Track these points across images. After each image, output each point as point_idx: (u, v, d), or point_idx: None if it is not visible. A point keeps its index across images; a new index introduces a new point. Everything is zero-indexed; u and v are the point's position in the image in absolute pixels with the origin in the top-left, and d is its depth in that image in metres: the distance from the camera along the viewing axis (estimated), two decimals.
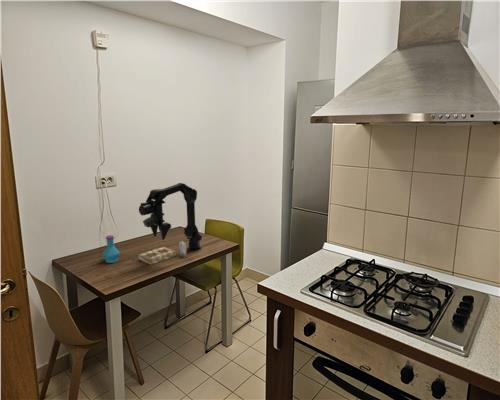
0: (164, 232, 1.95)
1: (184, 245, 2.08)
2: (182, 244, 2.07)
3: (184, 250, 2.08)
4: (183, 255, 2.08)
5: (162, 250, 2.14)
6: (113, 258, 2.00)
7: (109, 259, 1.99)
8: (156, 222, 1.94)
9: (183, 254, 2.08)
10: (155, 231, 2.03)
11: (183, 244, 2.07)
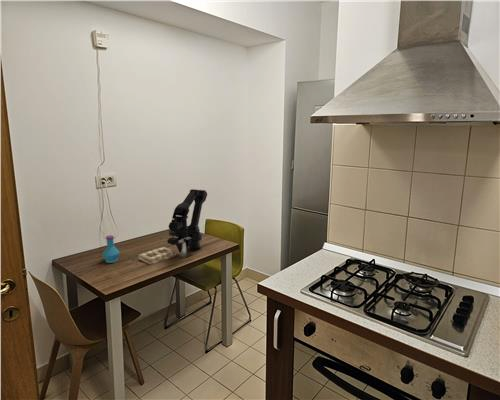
0: (178, 246, 2.06)
1: (184, 245, 2.08)
2: (182, 244, 2.07)
3: (184, 250, 2.08)
4: (183, 255, 2.08)
5: (162, 250, 2.14)
6: (113, 258, 2.00)
7: (109, 259, 1.99)
8: (175, 235, 2.07)
9: (183, 254, 2.08)
10: (186, 246, 2.11)
11: (183, 244, 2.07)
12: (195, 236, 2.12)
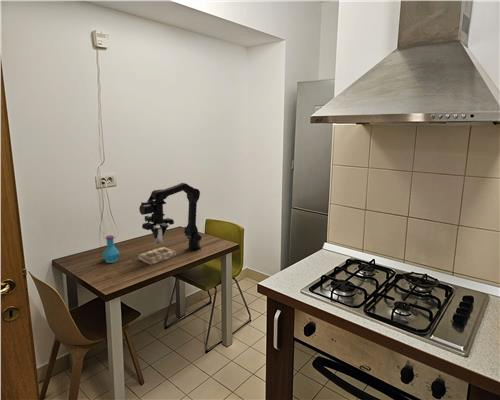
0: (154, 231, 2.00)
1: (160, 231, 2.01)
2: (158, 230, 2.00)
3: (160, 236, 2.01)
4: (159, 241, 2.02)
5: (162, 250, 2.14)
6: (113, 258, 2.00)
7: (109, 259, 1.99)
8: (151, 220, 2.01)
9: (159, 240, 2.02)
10: (162, 233, 2.04)
11: (159, 230, 2.00)
12: (172, 222, 2.06)
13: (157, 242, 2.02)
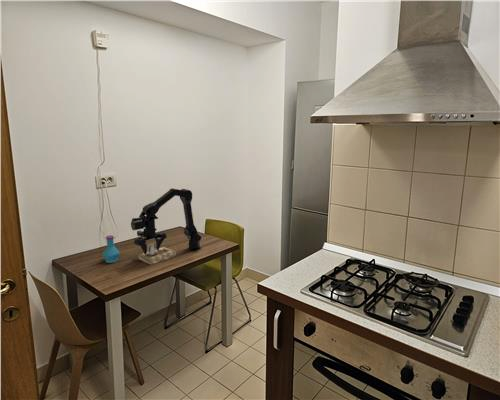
0: (143, 247, 1.99)
1: (152, 248, 2.02)
2: (150, 247, 2.01)
3: (153, 253, 2.03)
4: None
5: (162, 250, 2.14)
6: (113, 258, 2.00)
7: (109, 259, 1.99)
8: (143, 235, 2.01)
9: None
10: (157, 246, 2.07)
11: (151, 247, 2.02)
12: (164, 236, 2.06)
13: None
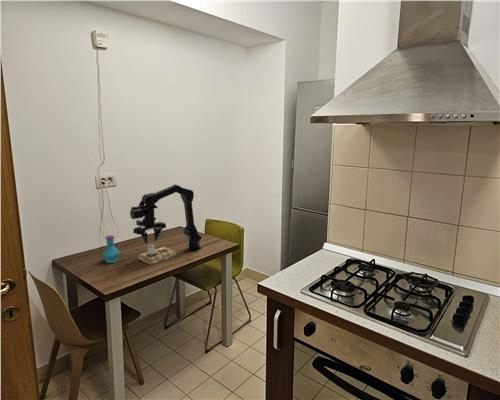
0: (144, 236, 1.98)
1: (152, 248, 2.02)
2: (150, 247, 2.01)
3: (153, 253, 2.03)
4: None
5: (162, 250, 2.14)
6: (113, 258, 2.00)
7: (109, 259, 1.99)
8: (143, 225, 2.00)
9: None
10: (156, 236, 2.04)
11: (151, 247, 2.02)
12: (164, 226, 2.05)
13: None
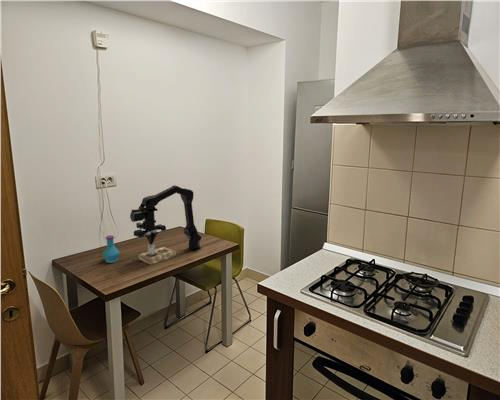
0: (148, 237, 2.01)
1: (152, 248, 2.02)
2: (150, 247, 2.01)
3: (153, 253, 2.03)
4: None
5: (162, 250, 2.14)
6: (113, 258, 2.00)
7: (109, 259, 1.99)
8: (143, 227, 2.00)
9: None
10: None
11: (151, 247, 2.02)
12: (164, 229, 2.05)
13: None
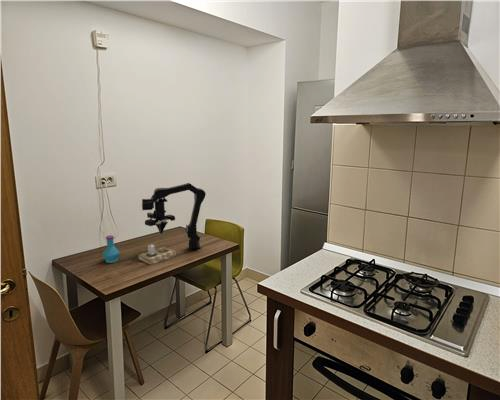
0: (159, 227, 2.12)
1: (152, 248, 2.02)
2: (150, 247, 2.01)
3: (153, 253, 2.03)
4: None
5: (162, 250, 2.14)
6: (113, 258, 2.00)
7: (109, 259, 1.99)
8: (153, 217, 2.11)
9: None
10: None
11: (151, 247, 2.02)
12: (173, 218, 2.16)
13: None
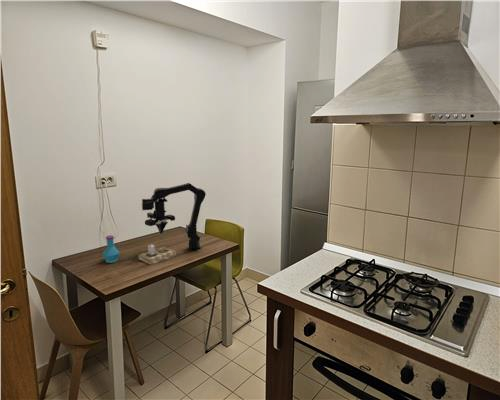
0: (159, 227, 2.12)
1: (152, 248, 2.02)
2: (150, 247, 2.01)
3: (153, 253, 2.03)
4: None
5: (162, 250, 2.14)
6: (113, 258, 2.00)
7: (109, 259, 1.99)
8: (153, 217, 2.11)
9: None
10: None
11: (151, 247, 2.02)
12: (173, 218, 2.16)
13: None
